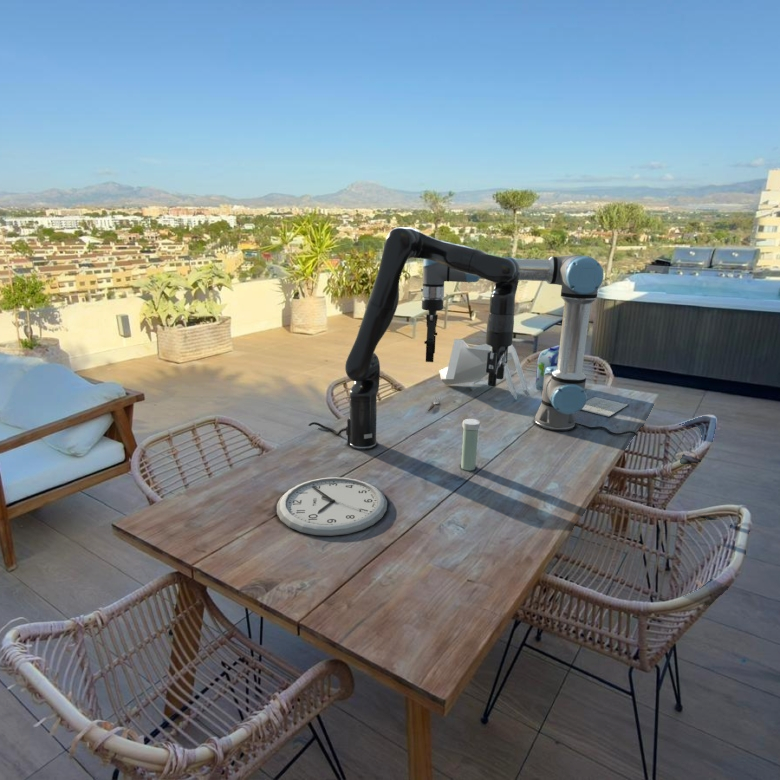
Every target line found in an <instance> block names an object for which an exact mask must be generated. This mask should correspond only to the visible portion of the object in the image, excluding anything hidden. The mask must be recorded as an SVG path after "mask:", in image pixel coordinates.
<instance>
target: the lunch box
mask: <svg viewBox="0 0 780 780" xmlns="http://www.w3.org/2000/svg"><path fill="white" fill-rule="evenodd" d="M559 346H560V344H559V345H555V346H552V347H549V348H547V349H544V350H542V351H541V352H540V353H539V355H538V357H537V362H536V374H535V389H536V390H537V391H541V392H543V382H544V373H545V369H546V368H547V367H553V366H557V364H558V355H559Z"/></svg>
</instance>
